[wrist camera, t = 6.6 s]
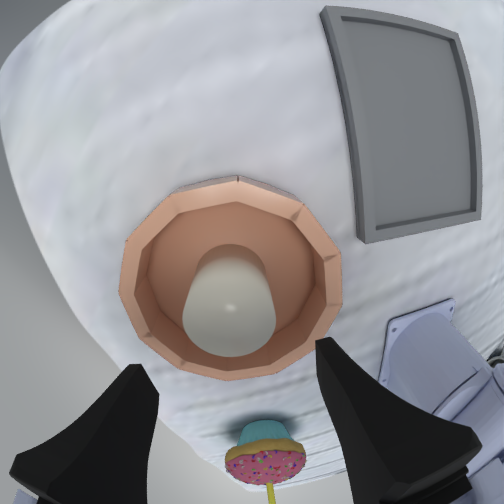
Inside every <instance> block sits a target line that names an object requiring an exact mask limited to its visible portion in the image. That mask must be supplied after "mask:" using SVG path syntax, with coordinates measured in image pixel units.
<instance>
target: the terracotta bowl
mask: <svg viewBox="0 0 504 504" xmlns="http://www.w3.org/2000/svg"><path fill="white" fill-rule="evenodd" d="M224 244H237V245H241V246H244V247H247V248H249V249H250V250H252V251H253V252H255V253H256V254H257V255H258V256H259V257H260V259H261V260H262V262H263V264H264V266H265V269H266V274H267V278H268V283H269V287H270V292H271V296H272V301H273V305H274V310H275V315H276V326H275V329H274V332H273V334H272V336H271V338H270V339H269V340H268V342H267V343H266V344H265V345H263V346H262V347H261V348H259V349H258V350H256V351H254V352H252V353H250V354H247V355H243V356H237V357H223V356H218V355H214V354H211V353H208V352H206V351H204V350H202V349H201V348H199V347H198V346H197V345H195V344H194V343H193V342H192V341H191V339H190V338H189V337H188V335H187V334H186V332H185V329H184V326H183V320H182V316H183V310H184V307H185V303H186V300H187V297H188V293H189V290H190V287H191V283H192V280H193V277H194V274H195V271H196V268H197V265H198V262H199V261H200V259H201V258H202V256H203V255H204V254H205V253H206V252H207V251H209V250H210V249H212V248H214V247H217V246H219V245H224ZM119 296H120V298H121V300H122V303H123V305H124V307H125V309H126V312H127V314H128V316H129V318H130V321H131V323H132V325H133V327H134V329H135V331H136V333H137V335H138V337H139V338H140V340H142V341H143V342H144V343H145V344H146V345H148V346H149V347H150V348H151V349H153V350H154V351H155V352H156V353H158V354H159V355H160V356H162V357H163V358H164V359H165V360H167V361H168V362H169V363H171V364H172V365H173V366H175V367H176V368H179V369H180V370H184V371H187V372H191V373H195V374H199V375H203V376H207V377H211V378H215V379H219V380H224V381H226V380H227V381H231V380H239V379H246V378H253V377H260V376H266V375H271V374H275V373H278V372H279V371H281V370H283V369H284V368H286V367H288V366H289V365H291V364H293V363H294V362H296V361H297V360H299V359H301V358H302V357H304V356H305V355H307V354H308V353H310V352H311V351H313V350H314V349H315V340H319V339H323V337H324V336H325V334H326V332H327V331H328V329H329V327H330V326H331V324H332V322H333V321H334V319H335V317H336V315H337V314H338V312H339V310H340V308H341V307H342V270H341V253H340V251H339V250H338V248H337V247H336V246H335V244H334V243H333V241H332V240H331V239H330V237H329V236H328V235H327V233H326V232H325V231H324V229H323V228H322V227H321V225H320V224H319V223H318V221H317V220H316V219H315V217H314V216H313V215H312V213H311V212H310V211H309V209H308V208H307V207H306V206H305V204H303V203H302V202H301V201H300V200H299V199H298V198H296V197H295V196H294V195H293V194H290V193H287V192H285V191H282V190H279V189H277V188H275V187H273V186H270V185H268V184H266V183H263V182H259V181H256V180H252V179H248V178H245V177H242V176H237V175H236V176H230V177H225V178H217V179H210V180H206V181H203V182H199V183H196V184H193V185H188V186H184V187H180V188H179V189H177V190H176V191H174V192H173V193H172V194H170V195H169V196H168V197H167V198H166V199H165V200H164V201H163V202H162V203H161V204H160V205H159V206H158V207H157V208H156V209H155V210H154V211H153V212H152V213H151V214H150V215H149V216H148V217H147V218H146V219H145V220H144V221H143V222H142V223H141V224H140V225H139V226H138V227H137V229H136V230H135V231H134V232H133V233H132V234H131V235H130V236H129V237H128V238H127V240H126V243H125V249H124V255H123V262H122V268H121V276H120V283H119Z"/></svg>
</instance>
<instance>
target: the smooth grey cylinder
mask: <svg viewBox="0 0 504 504" xmlns="http://www.w3.org/2000/svg"><path fill="white" fill-rule="evenodd" d="M182 320H183V326H184V329H185V332H186V334H187V335H188V337H189V338H190V339H191V341H192V342H193V343H194V344H195V345H197V346H198V347H199V348H201V349H202V350H204V351H206V352H208V353H211V354H214V355H218V356H223V357H237V356H243V355H247V354H250V353H252V352H254V351H256V350H258V349H259V348H261V347H262V346H263V345H265V344H266V343H267V342H268V340H269V339H270V338H271V336H272V334H273V332H274V329H275V326H276V315H275V310H274V305H273V301H272V296H271V292H270V287H269V283H268V278H267V274H266V269H265V266H264V264H263V262H262V260H261V259H260V257H259V256H258V255H257V254H256V253H255V252H253V251H252V250H250V249H249V248H247V247H244V246H241V245H237V244H224V245H219V246H217V247H214V248H212V249H210V250H209V251H207V252H206V253H205V254H204V255H203V256H202V258H201V259H200V261H199V262H198V265H197V268H196V271H195V274H194V277H193V280H192V283H191V287H190V290H189V293H188V297H187V300H186V303H185V307H184V310H183V316H182Z"/></svg>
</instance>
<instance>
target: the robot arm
mask: <svg viewBox="0 0 504 504" xmlns="http://www.w3.org/2000/svg"><path fill="white" fill-rule="evenodd" d="M455 303H456V301H455V300H454V299H449V300H447V301H444V302H442V303H439V304H436V305H434V306H431V307H428V308H425V309H422V310H420V311H417V312H414V313H411V314H408V315H405V316H402V317H399V318H395V319H393V320H391V321H390V322H389V325H388V331H387V338H386V345H385V351H384V356H383V362H382V367H381V372H380V377H379V382H377V381H376V380H375V379H374V378H372V377H371V376H370V375H369V374H368V373H366V372H365V371H364V370H363V369H362V368H361V367H360V366H359V365H358V364H357V363H355V362H354V361H353V360H352V359H351V358H350V357H349V356H348V355H347V354H346V353H345V352H344V351H343V349H342V348H341V347H340V346H339V345H338V344H337V343H336V342H335V341H334V339H333V338H331V337H327V338H323V339H319V340H315V349H316V370H317V378H318V382H319V386H320V389H321V393H322V397H323V399H324V402H325V404H326V407H327V410H328V412H329V415H330V417H331V420H332V422H333V425H334V428H335V430H336V433H337V435H338V438H339V441H340V444H341V447H342V451H343V455H344V459H345V464H346V468H347V472H348V477H349V481H350V486H351V491H352V496H353V502H354V504H504V363H502V364H501V363H498V364H497V365H496V366H495V368H491V366H490V365H489V364H488V363H487V362H486V361H485V359H484V358H483V357H482V356H481V355H480V354H479V353H478V351H477V350H476V349H475V348H474V347H473V346H472V345H471V344H470V343H469V341H468V340H467V339H466V338H465V337H464V336H463V335H462V334H461V333H460V332H459V331H458V330H457V329H456V328H455V327H454V326H453V325H452V323H451V320H452V316H453V312H454V308H455ZM393 328H394V329H393ZM392 329H393V330H392ZM386 387H387V388H388V389H387V388H386ZM158 406H159V393H158V391H157V390H156V388H155V386H154V385H153V383H152V382H151V380H150V378H149V377H148V375H147V373H146V371H145V370H144V368H143V366H142V364H129V365H128V366H127V367H126V368H125V369H124V370H123V371H122V372H121V374H120V375H119V376H118V377H117V378H116V379H115V380H114V381H113V383H112V384H111V385H110V386H109V387H108V388H107V389H106V390H105V392H104V393H103V394H102V395H101V396H100V397H99V398H98V399H97V400H96V401H95V402H94V403H93V404H92V405H91V406H90V407H89V408H88V410H86V411H85V412H84V413H83V414H82V415H81V416H80V417H79V418H78V419H77V420H75V421H74V422H73V423H72V424H71V425H70V426H68V427H67V428H66V429H64V430H63V431H61V432H60V433H58V434H57V435H55V436H54V437H53V438H51V439H49V440H47V441H46V442H44V443H42V444H40V445H38V446H36V447H34V448H32V449H30V450H27V451H25V452H22V453H20V454H17V455H16V457H15V460H14V462H13V465H12V467H11V470H10V472H9V474H10V476H11V477H12V478H14V479H15V480H16V481H17V482H19V483H20V484H22V485H23V486H25V487H26V488H27V489H29V490H30V491H32V492H33V493H35V494H36V495H38V496H39V498H38V500H37V499H35V498H33V497H32V496H30V495H28V494H26V493H25V492H23V491H22V490H20V489H18V491H17V494H16V496H15V499H14V503H13V504H147V466H148V458H149V452H150V447H151V442H152V438H153V433H154V429H155V424H156V419H157V415H158Z"/></svg>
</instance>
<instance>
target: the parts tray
mask: <svg viewBox="0 0 504 504" xmlns="http://www.w3.org/2000/svg"><path fill="white" fill-rule="evenodd" d="M320 17H321V20H322V23H323V27H324V30H325V34H326V37H327V41H328V44H329V48H330V52H331V56H332V60H333V64H334V68H335V72H336V77H337V81H338V86H339V91H340V96H341V101H342V106H343V112H344V117H345V123H346V129H347V136H348V143H349V150H350V158H351V166H352V175H353V185H354V196H355V209H356V225H357V238H359V239H360V240H361V241H362V242H363V243H365V244H369V243H374V242H379V241H384V240H388V239H393V238H398V237H403V236H408V235H412V234H417V233H422V232H427V231H431V230H436V229H441V228H445V227H450V226H455V225H459V224H464V223H468V222H473V221H477V220H481V210H482V153H481V140H480V130H479V121H478V114H477V107H476V101H475V96H474V91H473V86H472V81H471V77H470V73H469V69H468V65H467V61H466V57H465V54H464V51H463V47H462V44H461V41H460V38H459V35H458V33H455V32H453V31H450V30H447V29H444V28H441V27H438V26H435V25H432V24H429V23H426V22H422V21H418V20H415V19H411V18H407V17H403V16H398V15H394V14H389V13H384V12H378V11H372V10H366V9H358V8H350V7H339V6H325V7H324V8H323V10H322V11H321V13H320Z"/></svg>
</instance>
